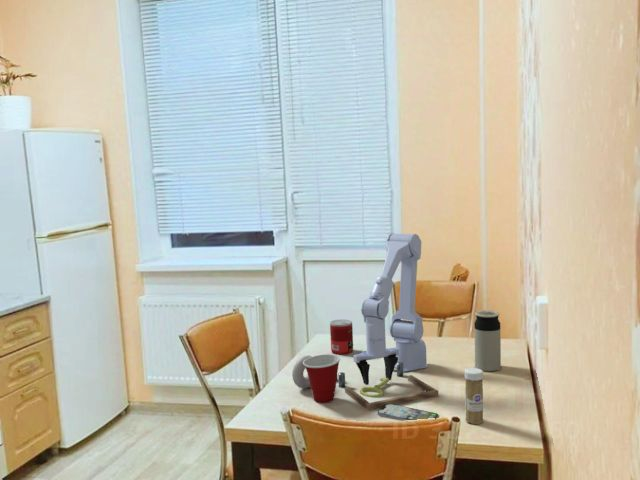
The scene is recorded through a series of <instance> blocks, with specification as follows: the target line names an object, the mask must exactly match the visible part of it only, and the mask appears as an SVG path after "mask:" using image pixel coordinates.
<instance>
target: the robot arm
mask: <svg viewBox="0 0 640 480" xmlns="http://www.w3.org/2000/svg"><path fill="white" fill-rule="evenodd" d="M385 250H386V255H385V259H384V264H383V268H382V270H381V274H380V275H379V276H378V277H376V278H375V279H374V282H373V286H372V288H371V290H370V294H369V296H368V298H366V299H364V300H363V302H362V305H361V309H360V310H361V315H362V317H363V321H364V323H365V334H366V335H365V337H366V351H363V352H360V353H358V354H353V362H354V363H355V364H356V366H357V368H358V369H359V373H360V375H361V377H362V381H363V384H364V385H365V386H369V384H370V383H369V382H370V379H369V378H370V374H369V372H370V366H371V365H370V364H369V363H368V361H371V360H376V359H377V360H378V359H382V358H383V362H384V369H385V370H384V371H385V379H386V378H389V381H392V376H393V373H394V371H395V369H397V363H398V362H402V363H403V373H404V372H410V371H415V370H420V369H421V370H422V369H426V368H427V369H428V368H429V366H428V364H427V344H426V342H425V341H424V339H422V338H423V336H424V324H423V317H422V316H420V314H418V312H416V310H415V309H416V291H417V277H418V275H417V274H418V260H420V259H421V254H422V240H421V238H420V236H419V235H418V234H416V233H412V234H411V233H394V232H390V233H388V236H387V237H386V240H385ZM400 263H401V265H400ZM399 265H400V266H401V270H400V282H399V283H400V284H399V285H400V286H399V302H398V304H399V305H398V311H397V312H395V313H394V314H392V316H391V322H390V325H389V334H390V337H392V338H393V341H394V342H395V347H390V348H386V347H387V345H386V318H387V316H388V314H389V308H390V307H389V306H390V300H389V299H390V296H391V293H392V291H393V288H394V282H393V278H394V275H395V274H396V271H397V270H398V267H399ZM393 370H394V371H393Z"/></svg>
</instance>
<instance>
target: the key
mask: <svg viewBox="0 0 640 480" xmlns="http://www.w3.org/2000/svg"><path fill="white" fill-rule="evenodd" d="M379 381H380V383H378V384H376V385H374V387H373V386H365V387H362V388H360V389H359V395H361V396H363V397H367V398H382V397H383V396H384V391H383V390H382V389H381V388H382V387H383V386H385V385H386V384H387V383H389V382H390V380H389V378H386V377H385V378H383V377H381V378H380V379H379ZM366 392H374V393H375V394H373V393H372V394H369V393H366Z"/></svg>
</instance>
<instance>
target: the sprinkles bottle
mask: <svg viewBox="0 0 640 480" xmlns="http://www.w3.org/2000/svg"><path fill="white" fill-rule="evenodd" d="M483 379H484V371H482V370H481V369H477V368H476V367H469V368H466V369H465V370H464V380H465V384H464V385H465V388H464V389H465V391H464V393H465V394H464V395H465V396H464V398H465V399H464V402H465V408H464V409H465V421H466V423H468V424H473V425H479V424H482V423H483V422H484V391H483V390H484V389H483V388H484V387H483Z"/></svg>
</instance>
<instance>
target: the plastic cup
mask: <svg viewBox="0 0 640 480" xmlns="http://www.w3.org/2000/svg"><path fill="white" fill-rule="evenodd" d="M340 361H341V357H340V355H338V354H333V353H332V354H330V353H329V354H328V353H327V354H324V353H323V354H318V355H316V354H315V355H313V356H312V357H309V358H307V359H305V360H304V361H303V364H304V366H305V367H306V368H305V371H306V373H307V374H308V377H309V381H310V390H311V393H312V398H313V399H314V402H315V403H321V404H325V403H326V404H327V403H332V401H334V400H335V395H336V387H337V381H338V380H337V377H338V373H339V372H338V370H339V363H340Z"/></svg>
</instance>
